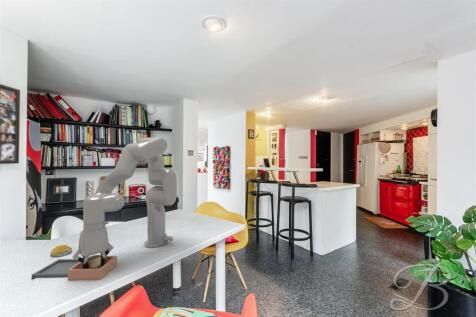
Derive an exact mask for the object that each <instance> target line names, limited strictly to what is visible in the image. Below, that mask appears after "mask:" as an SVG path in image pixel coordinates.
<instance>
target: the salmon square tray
mask: <svg viewBox="0 0 476 317" xmlns="http://www.w3.org/2000/svg"><path fill="white" fill-rule="evenodd" d="M90 256H91V255H90ZM90 256H89V257H90ZM117 265H118V256H117V255H107V256H106V258H105V265H104V266H102V267H101V268H100V269H83V263H81V262H79V263H78V264H76V265H75V266H73V267H72V268H70V269H69V270H68V277H67V281H96V280H97V281H101V280H102V279H103V278H104V277H105V276H106V275H108V274H109V273H110V272H111V271H112V270H113V269H114V268H115V267H116V266H117Z"/></svg>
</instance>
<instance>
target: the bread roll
mask: <svg viewBox="0 0 476 317" xmlns="http://www.w3.org/2000/svg"><path fill="white" fill-rule="evenodd" d="M72 251H73V248H72V247H70V246H68V245H66V244H62V245H58V246H55V247H53V249H51V251H50V256H51V257H55V258H59V257H60V258H61V257H64V256H67V255H69V254H71V253H72Z"/></svg>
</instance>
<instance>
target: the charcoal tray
mask: <svg viewBox="0 0 476 317" xmlns="http://www.w3.org/2000/svg"><path fill="white" fill-rule="evenodd" d="M79 262H80V261H78V260H75V259H73V258H60V259H57V260H54V261H52V262H51V263H49V264H48V265H46V266H44V267H43V268H40V269H39V270H38V271H36V272H33V273H32V274H31V280H36V279H39V278H42V279H43V278H46V279H47V278H49V279H50V278H68V270H69V269H70V268H72V267H73V266H75V265H76V264H78V263H79Z"/></svg>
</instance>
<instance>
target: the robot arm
mask: <svg viewBox="0 0 476 317" xmlns="http://www.w3.org/2000/svg"><path fill="white" fill-rule="evenodd" d="M167 149H168V142H167V140H166V139H165V138H164V137H162V136H156V137H155V136H154V137H142V138H139V139H138V140H137V142H135V143H134V142H133V143H127V144H126V145H125V146H124V148H123V150H122V152H121V154H120V155H119V159H118V160H117V163H116V164H115V167H114V168H113V171H111V172H110V173H109V174H107V175H106V177H104V179H103V180H102V181H101V182H100V183H99V184H98V186H97V188H96V190H95V192H94V195H92V196H87V197H85V198H84V199H83V202H82V204H83V205H82V207H83V210H82V212H83V217H82V218H83V219H82V220H83V223H82V224H83V225H82V226H83V227H82V229H83V230H80V234H79V239H78V240H79V241H78V249H77V250H76V252H75V253H74V254H73V256H72V259H75V260H78V261H80V262H81V263H83V269H88V263H87V260H88V257H89V256H93V255H101V267H102V266H104V265H105V258H106V256H109V254H110V252H111V251H112V250H113V249H114V247H115V246H113V245H112V244H111V243H109V235H108V230H107V227H106V226H107V225H109V220H106V218H105V217H106V216H105V215H106V214H105V213H108V212H117V211H121V209H122V208H124V206H125V203H126V199H125V198H124V196H123V195H121V194H118V193H113V190H114V189H115V188H116V187H117V186H118V185H120V184H121V183H123V182H125V181H127V180H129V179H131V178H132V177H133V176H134V173H135V171H136V169H137V166H138V164H139V162H140V161H147V179H148V183H149V184H150V185H152V186H158V187H151V188H149V189H148V190H147V191H146V193H145V202H146V208H147V240H146V241H145V242H144V246H145V247H147V248H159V247H163V246H166V245H167V244H168V243H169V242H172V241H173V240H174V239H173V236H168V234H167V233H166V210H165V207H164V206H168V207H170V206H173V205H174V204H175V202H176V201H177V193H178V192H177V189H178V186H177V181H178V180H177V175H176V172H175V171H174V170H173V169H172V168H171V169H170V168H165V163H164V162H165V160H164V157H163V153H165V152H166V151H167ZM159 186H163V187H159Z"/></svg>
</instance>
